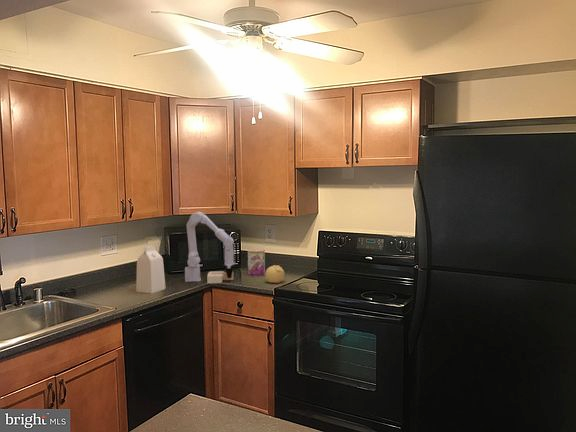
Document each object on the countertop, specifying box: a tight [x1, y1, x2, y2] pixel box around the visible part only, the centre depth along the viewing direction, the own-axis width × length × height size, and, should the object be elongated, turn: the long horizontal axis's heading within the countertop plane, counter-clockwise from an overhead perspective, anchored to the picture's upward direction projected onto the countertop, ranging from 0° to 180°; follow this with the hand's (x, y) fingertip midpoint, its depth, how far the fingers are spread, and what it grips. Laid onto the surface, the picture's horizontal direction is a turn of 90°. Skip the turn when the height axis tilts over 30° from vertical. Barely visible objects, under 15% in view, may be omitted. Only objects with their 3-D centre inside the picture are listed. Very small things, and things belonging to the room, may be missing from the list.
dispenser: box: [206, 270, 225, 284], centre depth 297 cm, size 10×14×4 cm
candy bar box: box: [247, 249, 266, 276], centre depth 314 cm, size 11×5×16 cm, turn 84°
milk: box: [135, 245, 166, 294], centre depth 274 cm, size 12×12×26 cm
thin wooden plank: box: [211, 271, 235, 281], centre depth 297 cm, size 14×1×5 cm, turn 95°
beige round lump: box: [264, 264, 285, 284], centre depth 291 cm, size 12×12×11 cm
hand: (229, 277), depth 298 cm, fingers open, 3 cm apart
